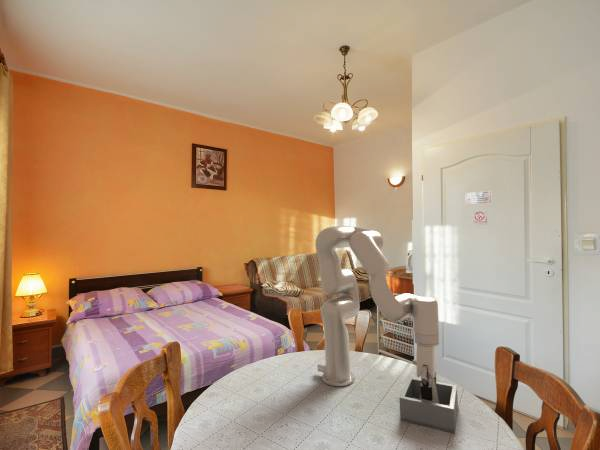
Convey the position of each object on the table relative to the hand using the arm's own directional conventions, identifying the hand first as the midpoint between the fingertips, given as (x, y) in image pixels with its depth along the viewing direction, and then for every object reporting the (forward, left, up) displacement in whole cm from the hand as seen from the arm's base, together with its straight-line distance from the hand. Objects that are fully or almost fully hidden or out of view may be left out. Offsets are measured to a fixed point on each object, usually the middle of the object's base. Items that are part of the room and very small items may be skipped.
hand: (429, 392), depth 102 cm
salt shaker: (0, 0, -6) cm, 6 cm away
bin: (0, 0, -7) cm, 7 cm away
